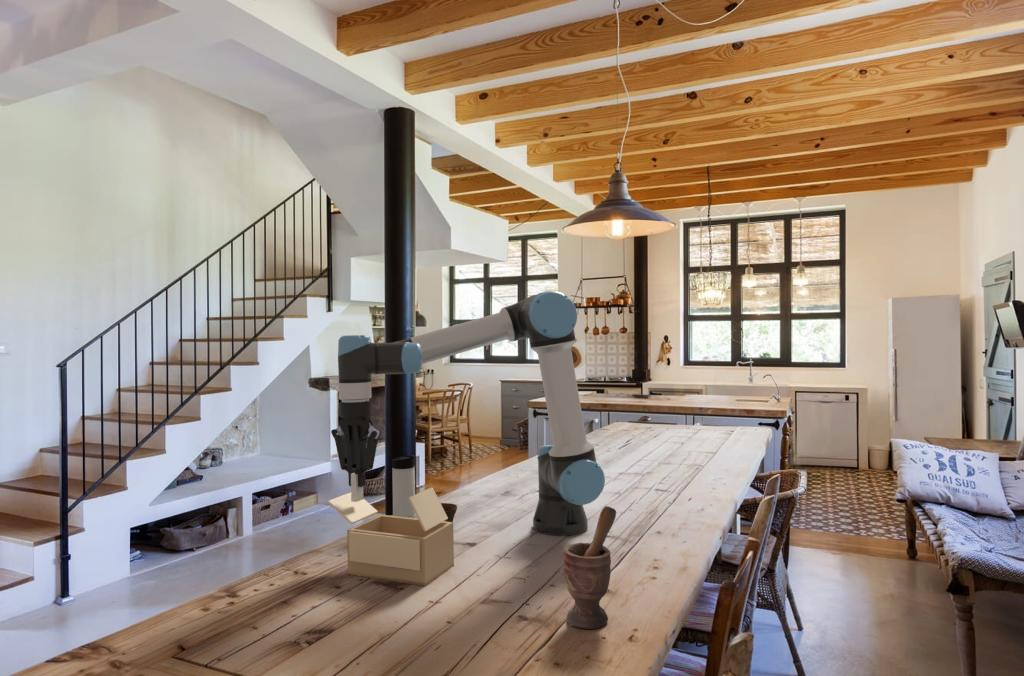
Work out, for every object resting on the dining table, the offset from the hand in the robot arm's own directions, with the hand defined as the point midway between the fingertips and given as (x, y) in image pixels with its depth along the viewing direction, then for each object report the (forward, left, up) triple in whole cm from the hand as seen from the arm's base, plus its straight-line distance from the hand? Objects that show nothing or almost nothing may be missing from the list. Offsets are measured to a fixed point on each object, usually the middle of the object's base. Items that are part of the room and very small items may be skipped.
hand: (357, 500), depth 148 cm
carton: (-12, 0, -15) cm, 19 cm away
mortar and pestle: (-59, +9, -15) cm, 62 cm away
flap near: (-21, 0, -4) cm, 22 cm away
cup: (-11, -20, -15) cm, 27 cm away
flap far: (-2, 0, -4) cm, 5 cm away
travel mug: (+6, -30, -15) cm, 34 cm away
